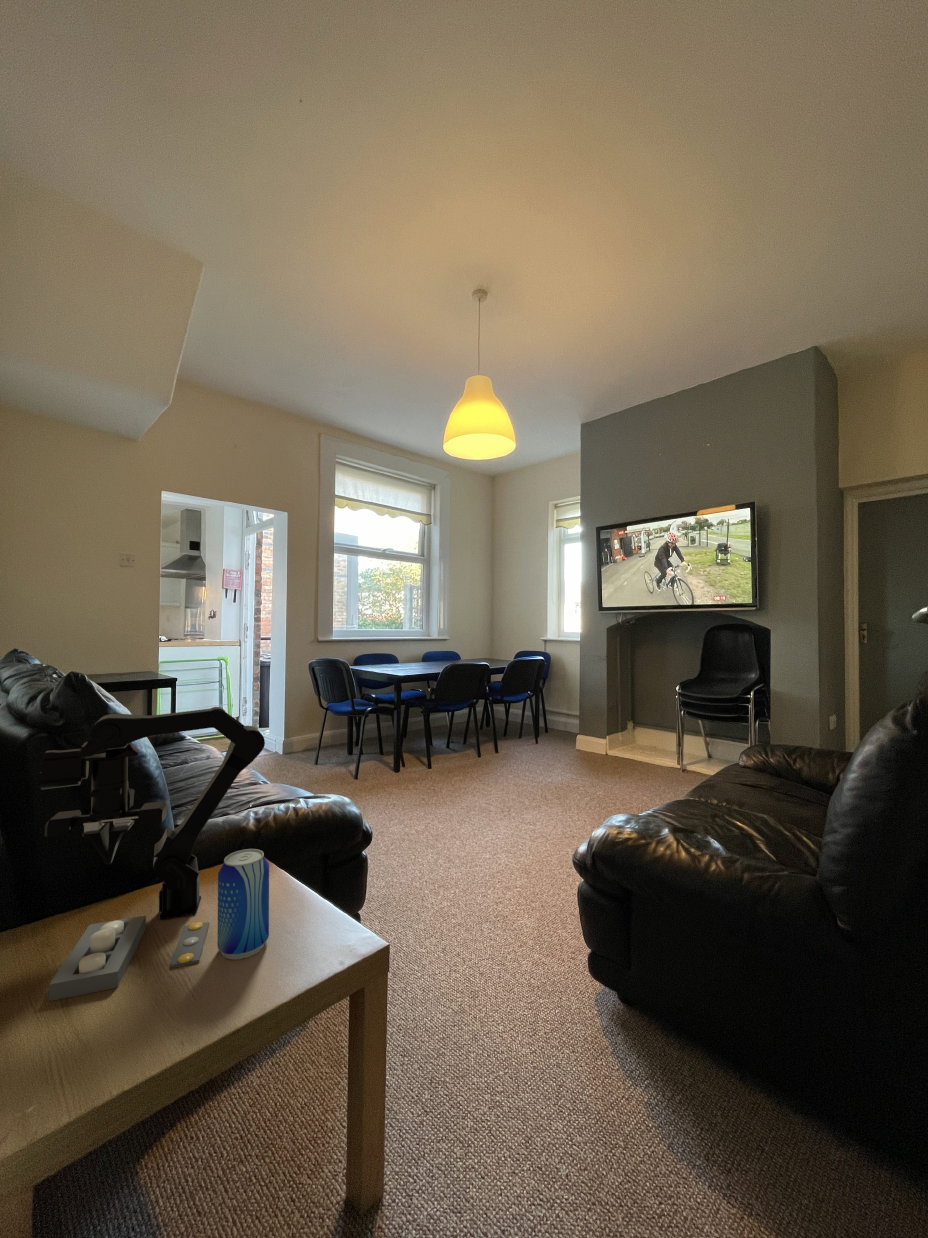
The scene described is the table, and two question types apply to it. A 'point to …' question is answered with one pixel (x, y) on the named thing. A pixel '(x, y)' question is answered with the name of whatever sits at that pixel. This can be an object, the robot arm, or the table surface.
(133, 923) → the button board
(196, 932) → the pattern tile
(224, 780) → the robot arm
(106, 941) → the button mid
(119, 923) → the button
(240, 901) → the beer can
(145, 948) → the table surface
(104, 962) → the button
